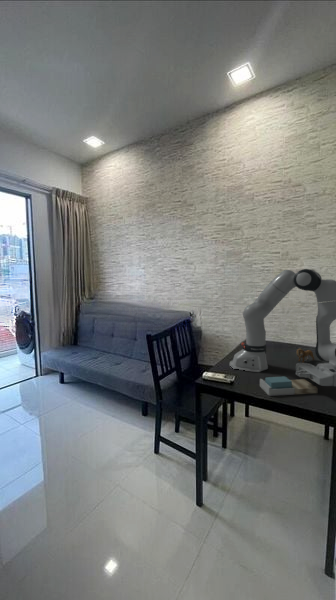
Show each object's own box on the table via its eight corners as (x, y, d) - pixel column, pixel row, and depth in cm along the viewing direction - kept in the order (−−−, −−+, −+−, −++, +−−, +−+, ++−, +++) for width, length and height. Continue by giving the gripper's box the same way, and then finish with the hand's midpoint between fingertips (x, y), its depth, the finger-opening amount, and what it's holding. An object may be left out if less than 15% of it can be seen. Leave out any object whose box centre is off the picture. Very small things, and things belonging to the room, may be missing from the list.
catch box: (283, 385, 127) (283, 377, 127) (294, 394, 118) (294, 386, 117) (259, 386, 127) (259, 378, 126) (269, 395, 117) (269, 387, 116)
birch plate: (304, 383, 128) (304, 379, 128) (317, 393, 118) (317, 387, 118) (283, 385, 127) (283, 380, 127) (294, 394, 118) (295, 389, 117)
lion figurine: (301, 364, 156) (301, 350, 155) (293, 361, 160) (294, 347, 159) (316, 360, 162) (317, 346, 161) (308, 357, 167) (309, 344, 166)
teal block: (284, 376, 125) (265, 377, 124) (291, 381, 119) (271, 382, 118) (284, 386, 125) (265, 387, 124) (291, 391, 119) (271, 392, 119)
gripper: (311, 359, 133) (286, 360, 132) (340, 374, 112) (310, 376, 112) (310, 370, 133) (285, 372, 132) (339, 387, 113) (310, 389, 112)
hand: (297, 374), depth 122 cm, fingers closed
